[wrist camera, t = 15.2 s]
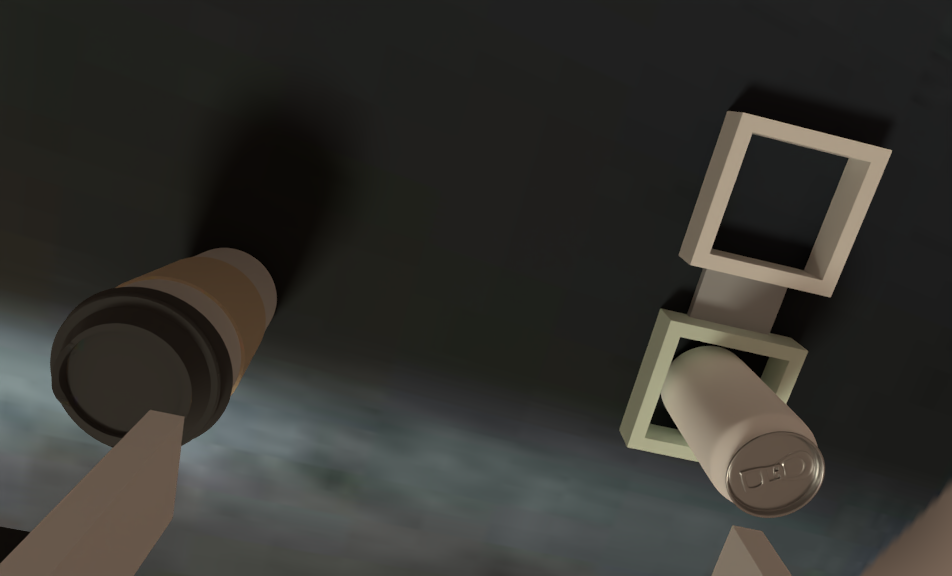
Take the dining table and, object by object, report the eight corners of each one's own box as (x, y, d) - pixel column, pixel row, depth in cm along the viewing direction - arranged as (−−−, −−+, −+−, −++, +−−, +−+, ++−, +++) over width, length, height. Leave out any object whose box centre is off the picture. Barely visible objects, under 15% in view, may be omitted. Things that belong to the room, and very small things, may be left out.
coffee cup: (304, 251, 45) (228, 330, 30) (280, 368, 47) (200, 490, 33) (172, 217, 44) (31, 281, 30) (155, 337, 47) (17, 449, 32)
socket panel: (727, 110, 42) (743, 112, 40) (868, 146, 43) (892, 150, 41) (619, 429, 49) (627, 447, 47) (742, 455, 50) (756, 473, 48)
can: (753, 407, 49) (841, 505, 37) (670, 433, 49) (732, 537, 38) (735, 331, 47) (822, 410, 36) (648, 359, 48) (707, 445, 36)
